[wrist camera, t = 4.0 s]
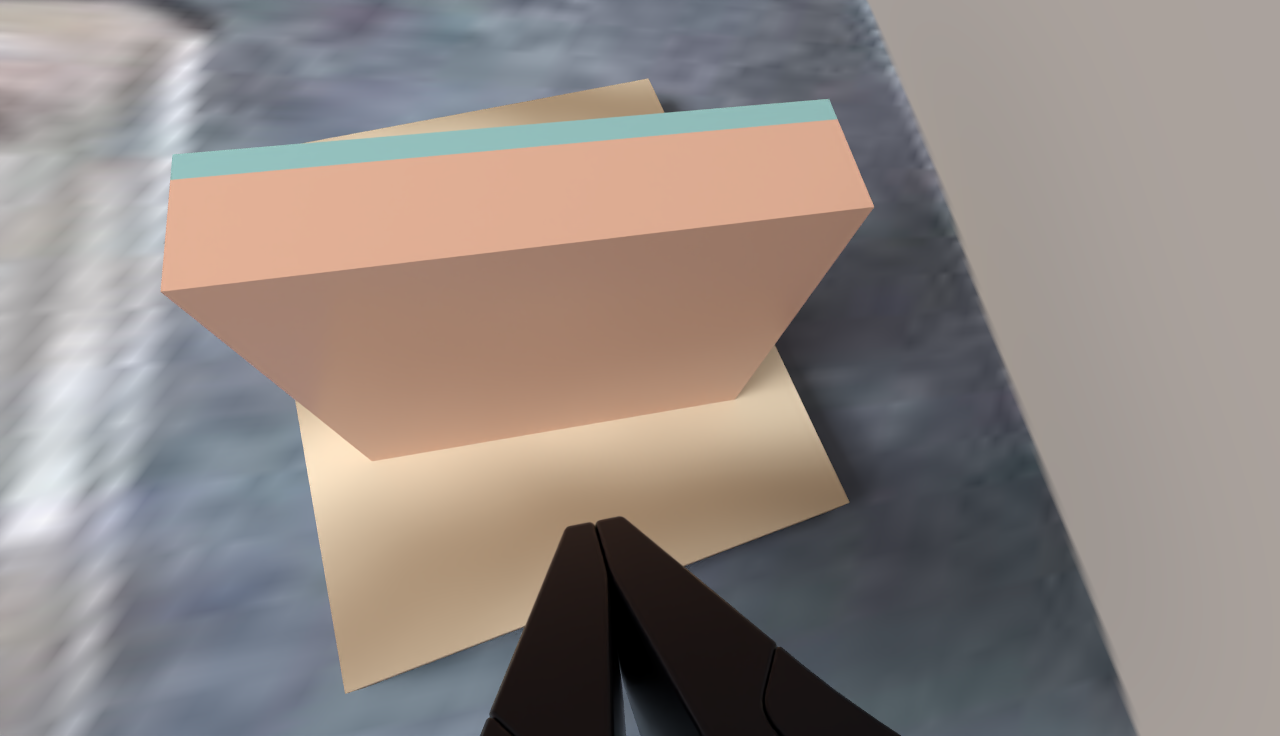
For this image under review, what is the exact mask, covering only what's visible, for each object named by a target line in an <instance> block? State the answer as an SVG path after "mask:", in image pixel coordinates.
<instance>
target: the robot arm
mask: <svg viewBox="0 0 1280 736" xmlns="http://www.w3.org/2000/svg"><path fill="white" fill-rule="evenodd" d="M620 670H621V674H620ZM621 675H622V679H623V682H624V686H625V689H626V692H627V696H628V699H629V702H630V705H631V708H632V711H633V714H634V717H635V720H636V723H637V726H638V729H639V732H640V735H641V736H901V735H899V734H898V733H896V732H895V731H893V730H892V729H890V728H889V727H887V726H886V725H884V724H883V723H881V722H880V721H878V720H877V719H875V718H874V717H872V716H871V715H870V714H868V713H867V712H865V711H864V710H862V709H861V708H860V707H858V706H857V705H855V704H854V703H852V702H851V701H850V700H848V699H847V698H845V697H844V696H843V695H841V694H840V693H838V692H837V691H835V690H834V689H833V688H832V687H830V686H829V685H828V684H827V683H825V682H824V681H823V680H821V679H820V678H819V677H818V676H816V675H815V674H814V673H812V672H811V671H810V670H809V669H807V668H806V667H805V666H804V665H802V664H801V663H800V662H799V661H797V660H796V659H795V658H794V657H793V656H791V655H790V654H789V653H788V652H787V651H785V650H784V649H783V648H782V647H777V645H776V643H775V642H774V641H773V640H772V639H771V638H769V637H768V636H767V635H766V634H765V633H763V632H762V631H761V630H760V629H759V628H757V627H756V626H755V625H754V624H753V623H751V622H750V621H749V620H748V619H746V618H745V617H744V616H743V615H742V614H740V613H739V612H738V611H737V610H736V609H734V608H733V607H732V606H731V605H730V604H728V603H727V602H726V601H725V600H724V599H722V598H721V597H720V596H719V595H718V594H716V593H715V592H714V591H713V590H712V589H710V588H709V587H708V586H707V585H706V584H704V583H703V582H702V581H701V580H699V579H698V578H697V577H696V576H695V575H693V574H692V573H691V572H690V571H689V570H687V569H686V568H685V567H684V566H683V565H681V564H680V563H679V562H678V561H677V560H675V559H674V558H673V557H672V556H671V555H669V554H668V553H667V552H666V551H665V550H663V549H662V548H661V547H660V546H658V545H657V544H656V543H655V542H654V541H652V540H651V539H650V538H649V537H648V536H646V535H645V534H644V533H643V532H642V531H640V530H639V529H638V528H637V527H636V526H634V525H633V524H632V523H631V522H630V521H628V520H627V519H626V518H625V517H622V516H617V517H611V518H606V519H601V520H598V521H597V522H596V524H595V525H594V524H593V523H592V522H586V523H581V524H576V525H571V526H568V527H566V528H565V530H564V532H563V534H562V537H561V539H560V542H559V544H558V546H557V549H556V551H555V554H554V556H553V559H552V561H551V564H550V566H549V568H548V571H547V573H546V576H545V578H544V581H543V583H542V586H541V588H540V591H539V593H538V595H537V598H536V600H535V603H534V605H533V608H532V610H531V613H530V615H529V617H528V620H527V622H526V625H525V627H524V630H523V632H522V635H521V637H520V640H519V642H518V644H517V647H516V649H515V652H514V654H513V657H512V659H511V662H510V664H509V667H508V669H507V671H506V674H505V676H504V679H503V681H502V684H501V686H500V689H499V691H498V693H497V696H496V698H495V701H494V703H493V706H492V708H491V711H490V714H489V715H490V718H488V719H487V720H486V722H485V725H484V727H483V729H482V732H481V734H480V736H626V729H625V716H624V703H623V692H622V683H621Z"/></svg>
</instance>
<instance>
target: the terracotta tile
mask: <svg viewBox="0 0 1280 736" xmlns="http://www.w3.org/2000/svg"><path fill="white" fill-rule="evenodd" d="M873 208H874V205H873V203H872V201H871V198H870V196H869V193H868V191H867V189H866V186H865V184H864V181H863V179H862V177H861V174H860V172H859V170H858V167H857V165H856V162H855V160H854V158H853V155H852V153H851V151H850V148H849V146H848V143H847V141H846V139H845V136H844V134H843V131H842V129H841V127H840V124H839V122H838V120H837V117H836V115H835V112H834V110H833V108H832V105H831V103H830V101H829V99H823V100H811V101H800V102H788V103H776V104H764V105H752V106H741V107H729V108H717V109H705V110H693V111H682V112H670V113H658V114H646V115H634V116H623V117H611V118H599V119H587V120H575V121H563V122H552V123H540V124H528V125H516V126H504V127H493V128H481V129H469V130H457V131H445V132H434V133H422V134H410V135H398V136H386V137H375V138H363V139H351V140H339V141H327V142H316V143H304V144H292V145H280V146H268V147H257V148H245V149H233V150H221V151H209V152H198V153H186V154H174V155H173V156H172V168H171V179H170V191H169V202H168V214H167V225H166V237H165V248H164V260H163V271H162V282H161V292H162V293H163V294H164V295H165V296H167V297H168V298H169V299H170V300H172V301H173V302H174V303H175V304H177V305H178V306H179V307H180V308H182V309H183V310H184V311H185V312H187V313H188V314H189V315H190V316H192V317H193V318H194V319H195V320H196V321H198V322H199V323H200V324H201V325H203V326H204V327H205V328H206V329H208V330H209V331H210V332H211V333H213V334H214V335H215V336H216V337H218V338H219V339H220V340H221V341H223V342H224V343H225V344H226V345H228V346H229V347H230V348H231V349H233V350H234V351H235V352H236V353H238V354H239V355H240V356H241V357H243V358H244V359H245V360H246V361H248V362H249V363H250V364H251V365H253V366H254V367H255V368H256V369H258V370H259V371H260V372H261V373H263V374H264V375H265V376H266V377H267V378H269V379H270V380H271V381H272V382H274V383H275V384H276V385H277V386H279V387H280V388H281V389H282V390H284V391H285V392H286V393H287V394H289V395H290V396H291V397H292V398H294V399H295V400H296V401H297V402H299V403H300V404H301V405H302V406H304V407H305V408H306V409H307V410H309V411H310V412H311V413H312V414H314V415H315V416H316V417H317V418H319V419H320V420H321V421H322V422H324V423H325V424H326V425H327V426H329V427H330V428H331V429H332V430H334V431H335V432H336V433H337V434H338V435H340V436H341V437H342V438H343V439H345V440H346V441H347V442H348V443H350V444H351V445H352V446H353V447H355V448H356V449H357V450H358V451H360V452H361V453H362V454H363V455H365V456H366V457H367V458H368V459H370V460H371V461H378V460H383V459H389V458H395V457H401V456H407V455H413V454H419V453H424V452H430V451H436V450H442V449H448V448H454V447H460V446H465V445H471V444H477V443H483V442H489V441H495V440H501V439H506V438H512V437H518V436H524V435H530V434H536V433H542V432H547V431H553V430H559V429H565V428H571V427H577V426H583V425H588V424H594V423H600V422H606V421H612V420H618V419H624V418H629V417H635V416H641V415H647V414H653V413H659V412H665V411H670V410H676V409H682V408H688V407H694V406H700V405H706V404H711V403H717V402H723V401H729V400H735V399H736V397H737V396H738V395H739V393H740V392H741V390H742V389H743V388H744V386H745V385H746V384H747V382H748V381H749V379H750V378H751V377H752V375H753V374H754V372H755V371H756V370H757V368H758V367H759V366H760V364H761V363H762V361H763V360H764V359H765V357H766V356H767V354H768V353H769V352H770V350H771V349H772V348H773V346H774V345H775V343H776V342H777V341H778V339H779V338H780V336H781V335H782V334H783V332H784V331H785V330H786V328H787V327H788V325H789V324H790V323H791V321H792V320H793V318H794V317H795V316H796V314H797V313H798V312H799V310H800V309H801V307H802V306H803V305H804V303H805V302H806V301H807V299H808V298H809V296H810V295H811V294H812V292H813V291H814V289H815V288H816V287H817V285H818V284H819V283H820V281H821V280H822V278H823V277H824V276H825V274H826V273H827V271H828V270H829V269H830V267H831V266H832V265H833V263H834V262H835V260H836V259H837V258H838V256H839V255H840V253H841V252H842V251H843V249H844V248H845V247H846V245H847V244H848V242H849V241H850V240H851V238H852V237H853V235H854V234H855V233H856V231H857V230H858V229H859V227H860V226H861V224H862V223H863V222H864V220H865V219H866V217H867V216H868V215H869V213H870V212H871V211H872V209H873Z"/></svg>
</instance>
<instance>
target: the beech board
mask: <svg viewBox="0 0 1280 736" xmlns="http://www.w3.org/2000/svg"><path fill="white" fill-rule="evenodd" d="M658 113H664V110H663V108H662V106H661V104H660V102H659V100H658V98H657V96H656V94H655V92H654V89H653V87H652V85H651V83H650V81H649V79H644V80H638V81H633V82H628V83H622V84H617V85H612V86H606V87H601V88H596V89H590V90H585V91H580V92H574V93H569V94H564V95H558V96H553V97H548V98H542V99H537V100H532V101H526V102H521V103H516V104H510V105H505V106H500V107H494V108H489V109H483V110H478V111H473V112H467V113H462V114H457V115H451V116H446V117H441V118H435V119H430V120H425V121H419V122H414V123H409V124H403V125H398V126H393V127H387V128H382V129H377V130H371V131H366V132H361V133H355V134H350V135H345V136H339V137H334V138H329V139H323V140H318V141H313V142H307V143H316V142H327V141H339V140H351V139H363V138H375V137H386V136H398V135H410V134H422V133H434V132H445V131H457V130H469V129H481V128H493V127H504V126H516V125H528V124H540V123H552V122H563V121H575V120H587V119H599V118H611V117H623V116H634V115H646V114H658ZM302 144H304V143H302ZM295 401H296V400H295ZM296 407H297V413H298V418H299V424H300V430H301V436H302V442H303V448H304V454H305V460H306V466H307V472H308V477H309V483H310V489H311V495H312V501H313V507H314V513H315V519H316V525H317V530H318V536H319V542H320V548H321V554H322V560H323V566H324V572H325V578H326V583H327V589H328V595H329V601H330V607H331V613H332V619H333V625H334V631H335V637H336V642H337V648H338V654H339V660H340V666H341V672H342V678H343V684H344V690H345V694H346V693H349V692H352V691H356V690H359V689H362V688H365V687H368V686H370V685H373V684H376V683H378V682H381V681H383V680H386V679H389V678H391V677H394V676H397V675H399V674H402V673H405V672H407V671H410V670H412V669H415V668H418V667H420V666H423V665H426V664H428V663H431V662H434V661H436V660H439V659H441V658H444V657H447V656H449V655H452V654H455V653H457V652H460V651H463V650H465V649H468V648H470V647H473V646H476V645H478V644H481V643H484V642H486V641H489V640H491V639H494V638H497V637H499V636H502V635H505V634H507V633H510V632H513V631H515V630H518V629H520V628H523V627H525V625H526V622H527V620H528V617H529V615H530V613H531V610H532V608H533V605H534V603H535V600H536V598H537V595H538V593H539V591H540V588H541V586H542V583H543V581H544V578H545V576H546V573H547V571H548V568H549V566H550V564H551V561H552V559H553V556H554V554H555V551H556V549H557V546H558V544H559V542H560V539H561V537H562V534H563V532H564V530H565V528H566V527H568V526H571V525H576V524H581V523H586V522H592V523H593V524H594V525H595V524H596V522H597V521H598V520H601V519H606V518H611V517H617V516H622V517H625V518H626V519H627V520H628V521H630V522H631V523H632V524H633V525H634V526H636V527H637V528H638V529H639V530H640V531H642V532H643V533H644V534H645V535H646V536H648V537H649V538H650V539H651V540H652V541H654V542H655V543H656V544H657V545H658V546H660V547H661V548H662V549H663V550H665V551H666V552H667V553H668V554H669V555H671V556H672V557H673V558H674V559H675V560H677V561H678V562H679V563H680V564H681V565H683V566H686V565H689V564H692V563H694V562H697V561H700V560H702V559H705V558H707V557H710V556H713V555H715V554H718V553H721V552H723V551H726V550H729V549H731V548H734V547H736V546H739V545H742V544H744V543H747V542H750V541H752V540H755V539H758V538H760V537H763V536H765V535H768V534H771V533H773V532H776V531H779V530H781V529H784V528H787V527H789V526H792V525H794V524H797V523H800V522H802V521H805V520H808V519H810V518H813V517H815V516H818V515H821V514H823V513H826V512H829V511H831V510H834V509H836V508H838V507H840V506H843V505H845V504H847V503H850V502H849V500H848V498H847V496H846V494H845V492H844V490H843V487H842V485H841V483H840V481H839V479H838V477H837V475H836V473H835V471H834V469H833V466H832V464H831V462H830V460H829V458H828V456H827V454H826V452H825V450H824V447H823V445H822V443H821V441H820V439H819V437H818V435H817V433H816V431H815V428H814V426H813V424H812V422H811V420H810V418H809V416H808V414H807V412H806V410H805V407H804V405H803V403H802V401H801V399H800V397H799V395H798V393H797V391H796V388H795V386H794V384H793V382H792V380H791V378H790V376H789V374H788V372H787V370H786V367H785V365H784V363H783V361H782V359H781V357H780V355H779V353H778V351H777V348H776V346H775V345H774V346H773V348H772V349H771V350H770V352H769V353H768V354H767V356H766V357H765V359H764V360H763V361H762V363H761V364H760V366H759V367H758V368H757V370H756V371H755V372H754V374H753V375H752V377H751V378H750V379H749V381H748V382H747V384H746V385H745V386H744V388H743V389H742V390H741V392H740V393H739V395H738V396H737V397H736V399H735V400H729V401H723V402H717V403H711V404H706V405H700V406H694V407H688V408H682V409H676V410H670V411H665V412H659V413H653V414H647V415H641V416H635V417H629V418H624V419H618V420H612V421H606V422H600V423H594V424H588V425H583V426H577V427H571V428H565V429H559V430H553V431H547V432H542V433H536V434H530V435H524V436H518V437H512V438H506V439H501V440H495V441H489V442H483V443H477V444H471V445H465V446H460V447H454V448H448V449H442V450H436V451H430V452H424V453H419V454H413V455H407V456H401V457H395V458H389V459H383V460H378V461H371V460H370V459H368V458H367V457H366V456H365V455H363V454H362V453H361V452H360V451H358V450H357V449H356V448H355V447H353V446H352V445H351V444H350V443H348V442H347V441H346V440H345V439H343V438H342V437H341V436H340V435H338V434H337V433H336V432H335V431H334V430H332V429H331V428H330V427H329V426H327V425H326V424H325V423H324V422H322V421H321V420H320V419H319V418H317V417H316V416H315V415H314V414H312V413H311V412H310V411H309V410H307V409H306V408H305V407H304V406H302V405H301V404H300V403H299V402H297V401H296Z"/></svg>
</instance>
